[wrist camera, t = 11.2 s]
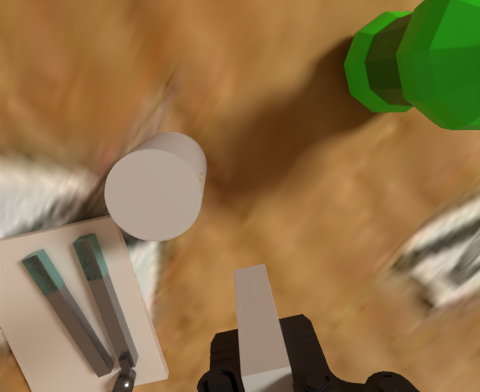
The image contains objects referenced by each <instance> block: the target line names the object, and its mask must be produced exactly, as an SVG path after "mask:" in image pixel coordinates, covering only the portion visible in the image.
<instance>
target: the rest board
mask: <svg viewBox="0 0 480 392" xmlns="http://www.w3.org/2000/svg"><path fill="white" fill-rule="evenodd" d="M94 233H95V234H96V237H97V240H98V243H99V245H100V248H101V251H102V254H103V256H104V259H105V262H106V265H107V268H108V273H109V276H110V278H111V281H112V284H113V287H114V289H115V292H116V295H117V298H118V300H119V303H120V306H121V309H122V312H123V314H124V317H125V320H126V323H127V325H128V328H129V331H130V334H131V336H132V339H133V342H134V345H135V348H136V350H137V353H138V356H139V357H138V360H137V363H136V367H133V368H132V369H133V370H134V371H135V372H136V379H135V383H134V386H136V385H141V384H146V383H150V382H155V381H160V380H164V379H168V374H169V371H168V368H167V365H166V362H165V359H164V356H163V353H162V350H161V347H160V344H159V341H158V338H157V335H156V332H155V330H154V327H153V324H152V321H151V318H150V315H149V312H148V309H147V306H146V303H145V300H144V297H143V294H142V291H141V288H140V285H139V282H138V279H137V276H136V273H135V270H134V267H133V264H132V261H131V258H130V255H129V252H128V249H127V246H126V243H125V240H124V237H123V234H122V231H121V228H120V227H119V226H118V225H117V224H116V222H115V221H114V220H113V218H112V217H111V215H106V216H101V217H97V218H92V219H88V220H83V221H79V222H74V223H70V224H65V225H61V226H56V227H51V228H47V229H42V230H38V231H33V232H29V233H24V234H20V235H15V236H11V237H6V238H1V239H0V327H1V329H2V331H3V333H4V335H5V337H6V339H7V341H8V343H9V345H10V348H11V350H12V352H13V354H14V356H15V358H16V360H17V362H18V364H19V366H20V368H21V370H22V372H23V374H24V376H25V378H26V380H27V383H28V385H29V387H30V389H31V391H32V392H108V391H112V390H113V387H114V384H115V381H116V379H117V376H118V373H119V371H120V370H121V367H120V365H119V362H118V359H117V356H116V354H115V351H114V349H113V346H112V343H111V341H110V338H109V336H108V333H107V330H106V328H105V325H104V322H103V320H102V317H101V315H100V312H99V309H98V307H97V304H96V302H95V299H94V296H93V294H92V291H91V289H90V286H89V283H88V282H87V280H86V278H85V275H84V273H83V270H82V267H81V265H80V262H79V260H78V257H77V254H76V252H75V249H74V247H73V244H72V243H73V242H74V241H75V240H76V239H77V238H78V237H80V236H85V235H89V234H94ZM41 249H44V250H45V252H46V254H47V255H48V257H49V258H50V260H51V262H52V263H53V265H54V266H55V268H56V270H57V271H58V273H59V274H60V276H61V277H62V279H63V281H64V282H65V285H66V287H67V289H68V290H69V292H70V293H71V295H72V297H73V298H74V300H75V301H76V303H77V305H78V306H79V308H80V309H81V311H82V312H83V314H84V316H85V317H86V319H87V320H88V322H89V324H90V325H91V327H92V328H93V330H94V332H95V333H96V335H97V336H98V338H99V340H100V341H101V343H102V344H103V346H104V348H105V349H106V351H107V352H108V354H109V356H110V357H111V359H112V360H113V362H114V367H113V369H112V372H111V373H110V374H107V375H104V376H102V377H99V378H98V376H97V375H96V373H95V372H94V370H93V369H92V367H91V366H90V364H89V363H88V361H87V360H86V358H85V357H84V355H83V353H82V352H81V350H80V349H79V347H78V346H77V344H76V343H75V341H74V340H73V338H72V337H71V335H70V334H69V332H68V330H67V329H66V327H65V326H64V324H63V323H62V321H61V320H60V318H59V317H58V315H57V314H56V312H55V311H54V309H53V308H52V306H51V304H50V303H49V301H48V300H47V298H46V297H45V296H44V295H43V294H42V292H41V291H40V289H39V288H38V286H37V285H36V283H35V281H34V280H33V278H32V277H31V275H30V274H29V272H28V271H27V269H26V268H25V266H24V265H23V263H22V262H21V260H23V259H24V258H25V257H26V256H27V255H28V254H31V253H33V252H36V251H38V250H41Z"/></svg>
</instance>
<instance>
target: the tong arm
mask: <svg viewBox="0 0 480 392" xmlns="http://www.w3.org/2000/svg"><path fill="white" fill-rule="evenodd" d="M21 262H22V263H23V265H24V266H25V268H26V269H27V271H28V272H29V274H30V275H31V277H32V278H33V280H34V281H35V283H36V285H37V286H38V288H39V289H40V291H41V292H42V294H43V295H44V296H45V297H46V298H47V300H48V301H49V303H50V304H51V306H52V308H53V309H54V311H55V312H56V314H57V315H58V317H59V318H60V320H61V321H62V323H63V324H64V326H65V327H66V329H67V330H68V332H69V334H70V335H71V337H72V338H73V340H74V341H75V343H76V344H77V346H78V347H79V349H80V350H81V352H82V353H83V355H84V357H85V358H86V360H87V361H88V363H89V364H90V366H91V367H92V369H93V370H94V372H95V373H96V375H97V376H98V378H99V377H102V376H104V375H107V374H110V373H111V372H112V369H113V367H114V362H113V360H112V359H111V357H110V356H109V354H108V352H107V351H106V349H105V348H104V346H103V344H102V343H101V341H100V340H99V338H98V336H97V335H96V333H95V332H94V330H93V328H92V327H91V325H90V324H89V322H88V320H87V319H86V317H85V316H84V314H83V312H82V311H81V309H80V308H79V306H78V305H77V303H76V301H75V300H74V298H73V297H72V295H71V293H70V292H69V290H68V289H67V287H66V285H65V282H64V281H63V279H62V277H61V276H60V274H59V273H58V271H57V270H56V268H55V266H54V265H53V263H52V262H51V260H50V258H49V257H48V255H47V254H46V252H45V250H44V249H41V250H38V251H36V252H33V253H31V254H28V255H27V256H26V257H25V258H24V259H23V260H21Z"/></svg>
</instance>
